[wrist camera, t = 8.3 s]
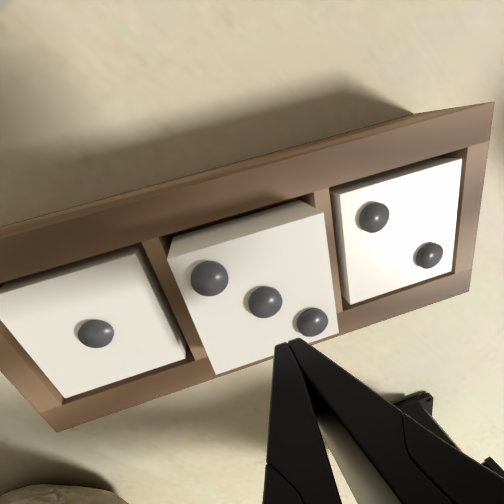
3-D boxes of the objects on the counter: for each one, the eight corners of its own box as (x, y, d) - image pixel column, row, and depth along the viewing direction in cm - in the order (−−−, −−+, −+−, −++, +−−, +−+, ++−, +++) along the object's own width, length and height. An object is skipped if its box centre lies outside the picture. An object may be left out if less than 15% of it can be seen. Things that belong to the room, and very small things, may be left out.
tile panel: (411, 260, 19) (468, 291, 15) (90, 365, 17) (56, 432, 13) (414, 113, 15) (494, 101, 11) (-6, 228, 13) (-97, 265, 9)
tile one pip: (187, 327, 15) (185, 361, 13) (85, 359, 15) (63, 402, 12) (146, 235, 13) (134, 256, 10) (22, 271, 12) (-21, 301, 10)
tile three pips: (316, 303, 14) (340, 335, 12) (213, 337, 14) (216, 378, 11) (299, 200, 12) (326, 213, 9) (173, 237, 11) (166, 261, 9)
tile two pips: (416, 253, 16) (454, 272, 14) (328, 282, 16) (352, 306, 13) (419, 156, 14) (466, 158, 12) (315, 186, 13) (342, 195, 11)
